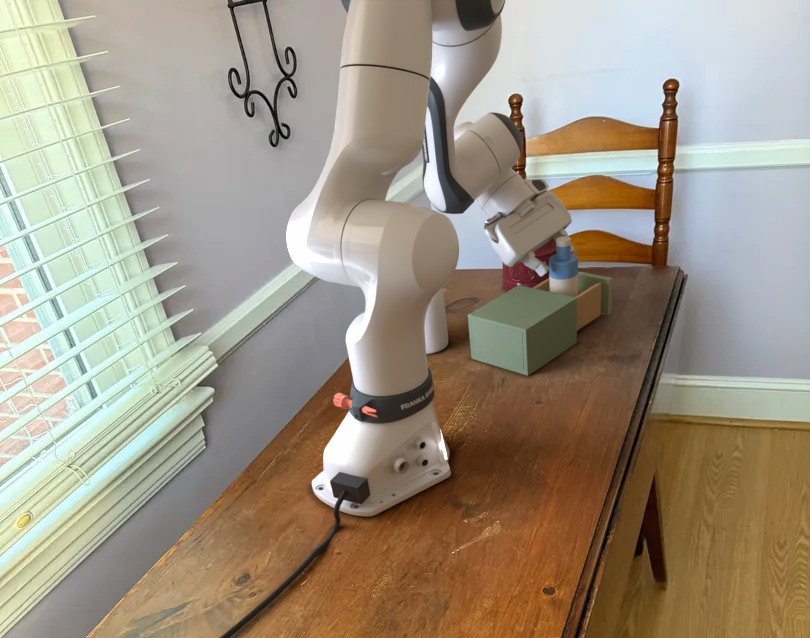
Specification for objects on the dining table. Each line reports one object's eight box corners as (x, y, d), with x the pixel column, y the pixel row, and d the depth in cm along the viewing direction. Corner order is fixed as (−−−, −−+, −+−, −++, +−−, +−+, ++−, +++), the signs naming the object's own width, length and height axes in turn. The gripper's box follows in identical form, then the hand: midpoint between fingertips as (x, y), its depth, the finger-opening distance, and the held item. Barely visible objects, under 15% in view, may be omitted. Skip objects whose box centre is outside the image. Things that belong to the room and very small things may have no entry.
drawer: (572, 293, 161) (572, 260, 156) (623, 304, 153) (624, 270, 149) (518, 326, 152) (516, 292, 148) (569, 340, 145) (569, 304, 141)
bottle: (567, 322, 148) (566, 245, 139) (544, 317, 151) (542, 241, 142) (583, 312, 151) (584, 235, 142) (561, 306, 154) (560, 232, 145)
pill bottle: (456, 339, 154) (448, 263, 144) (436, 357, 149) (426, 280, 139) (422, 334, 157) (412, 260, 148) (400, 352, 152) (389, 277, 143)
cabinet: (520, 328, 154) (518, 284, 148) (576, 342, 146) (577, 297, 140) (471, 358, 146) (467, 314, 141) (527, 375, 138) (525, 329, 133)
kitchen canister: (521, 270, 176) (517, 188, 165) (574, 276, 170) (574, 191, 159) (491, 293, 169) (486, 208, 158) (546, 300, 162) (544, 212, 151)
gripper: (489, 212, 136) (540, 274, 137) (548, 176, 148) (595, 233, 148) (470, 235, 141) (519, 295, 142) (528, 199, 153) (574, 254, 154)
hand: (558, 263), depth 145 cm, fingers open, 8 cm apart
